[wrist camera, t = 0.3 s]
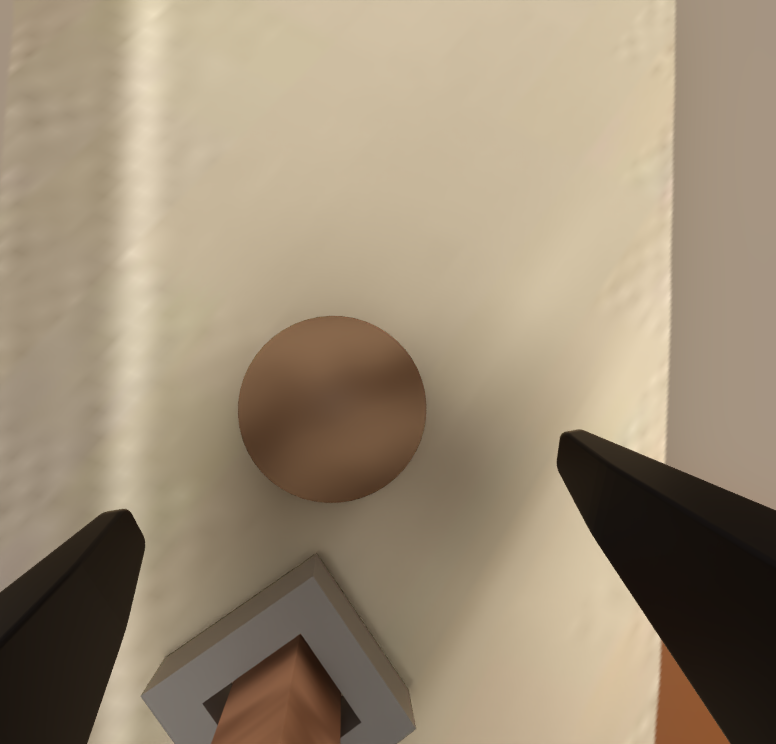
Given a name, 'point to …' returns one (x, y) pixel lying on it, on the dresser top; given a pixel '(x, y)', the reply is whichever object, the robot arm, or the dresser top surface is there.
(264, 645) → the collar
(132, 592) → the robot arm
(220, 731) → the block
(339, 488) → the pad
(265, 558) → the dresser top surface
